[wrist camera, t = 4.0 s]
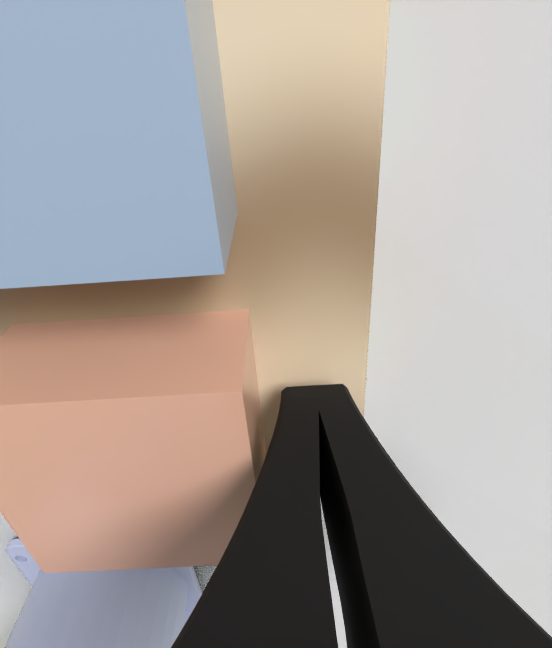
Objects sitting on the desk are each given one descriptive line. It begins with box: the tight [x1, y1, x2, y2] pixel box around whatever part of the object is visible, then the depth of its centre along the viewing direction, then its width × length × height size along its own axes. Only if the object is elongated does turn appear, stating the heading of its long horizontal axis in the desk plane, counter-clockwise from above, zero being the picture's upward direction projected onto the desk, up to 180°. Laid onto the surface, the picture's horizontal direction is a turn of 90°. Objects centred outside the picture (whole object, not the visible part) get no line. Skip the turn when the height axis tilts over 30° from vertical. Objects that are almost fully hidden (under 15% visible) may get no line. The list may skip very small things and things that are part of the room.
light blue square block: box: [0, 0, 238, 289], centre depth 5 cm, size 5×5×2 cm
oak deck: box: [0, 0, 390, 454], centre depth 10 cm, size 14×12×4 cm
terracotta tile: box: [0, 310, 266, 573], centre depth 9 cm, size 5×5×2 cm
